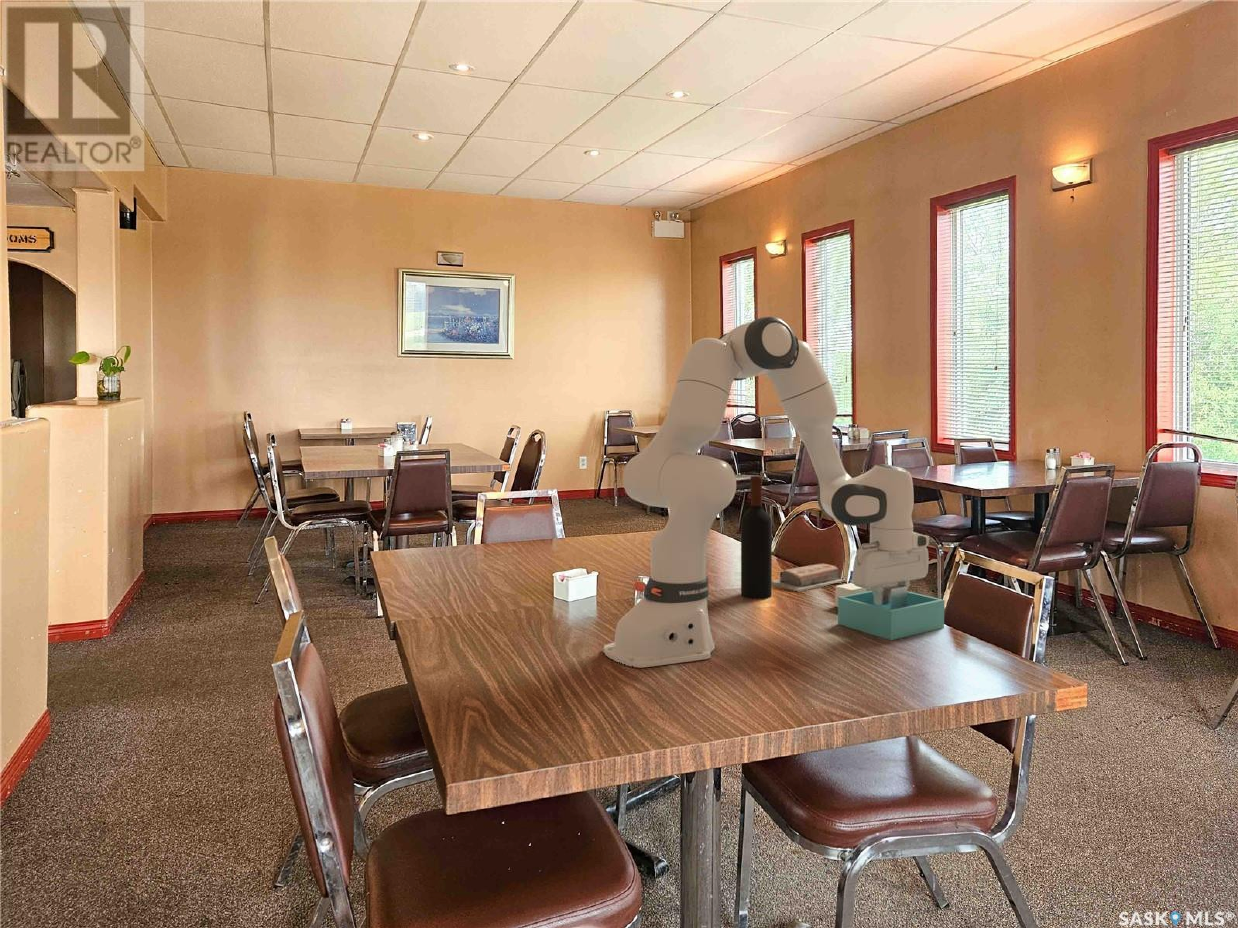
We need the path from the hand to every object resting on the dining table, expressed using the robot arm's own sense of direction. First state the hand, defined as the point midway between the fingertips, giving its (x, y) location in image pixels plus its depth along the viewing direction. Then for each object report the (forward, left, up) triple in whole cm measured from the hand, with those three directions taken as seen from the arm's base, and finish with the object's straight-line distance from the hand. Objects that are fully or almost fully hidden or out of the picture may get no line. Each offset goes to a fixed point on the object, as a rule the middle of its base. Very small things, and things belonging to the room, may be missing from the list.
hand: (890, 602), depth 181 cm
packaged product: (+14, +39, -6) cm, 42 cm away
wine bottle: (-6, +37, -5) cm, 38 cm away
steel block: (0, 0, -2) cm, 2 cm away
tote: (0, 0, -5) cm, 5 cm away
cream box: (+5, +16, -5) cm, 17 cm away
